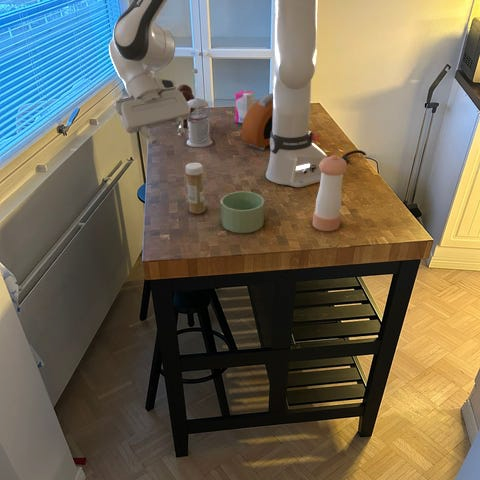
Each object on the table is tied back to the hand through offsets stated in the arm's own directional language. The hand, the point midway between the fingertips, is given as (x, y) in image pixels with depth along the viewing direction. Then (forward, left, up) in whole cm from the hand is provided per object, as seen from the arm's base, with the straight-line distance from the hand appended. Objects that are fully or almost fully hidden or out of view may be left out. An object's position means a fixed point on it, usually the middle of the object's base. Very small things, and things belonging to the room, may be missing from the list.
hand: (168, 138), depth 132 cm
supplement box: (-43, -57, -18) cm, 73 cm away
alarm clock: (-45, -32, -18) cm, 58 cm away
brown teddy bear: (-19, -62, -18) cm, 67 cm away
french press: (-20, -42, -18) cm, 50 cm away
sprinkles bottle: (-4, +11, -18) cm, 21 cm away
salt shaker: (-35, +31, -18) cm, 50 cm away
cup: (-14, +22, -17) cm, 32 cm away
